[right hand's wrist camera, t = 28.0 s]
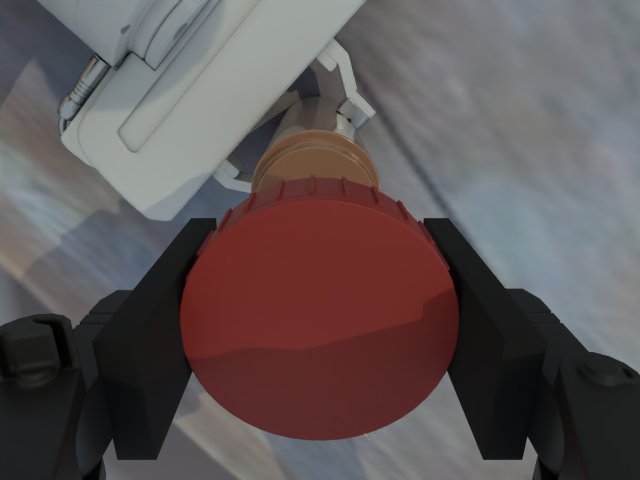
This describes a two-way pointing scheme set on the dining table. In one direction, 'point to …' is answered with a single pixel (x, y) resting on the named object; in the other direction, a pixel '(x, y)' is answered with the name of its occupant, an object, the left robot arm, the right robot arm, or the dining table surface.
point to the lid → (319, 310)
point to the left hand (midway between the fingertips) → (327, 161)
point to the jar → (314, 147)
